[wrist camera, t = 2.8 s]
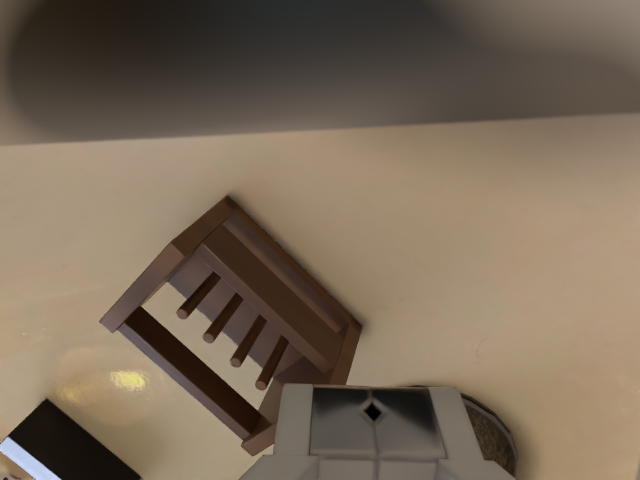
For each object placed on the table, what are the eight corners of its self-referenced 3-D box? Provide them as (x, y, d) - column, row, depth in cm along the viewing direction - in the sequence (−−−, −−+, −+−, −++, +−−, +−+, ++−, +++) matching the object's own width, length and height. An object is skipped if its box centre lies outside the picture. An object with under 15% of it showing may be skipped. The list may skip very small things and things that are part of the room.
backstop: (46, 398, 50) (7, 435, 46) (141, 477, 52) (112, 520, 47) (34, 410, 51) (-4, 447, 47) (127, 487, 53) (98, 529, 49)
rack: (227, 194, 35) (169, 242, 28) (363, 326, 37) (341, 401, 30) (162, 265, 39) (98, 321, 32) (287, 380, 41) (252, 457, 34)
